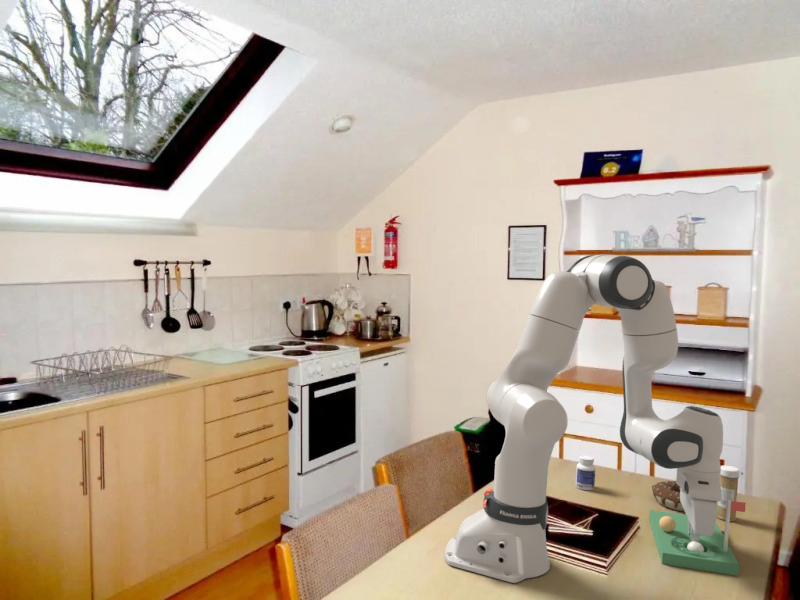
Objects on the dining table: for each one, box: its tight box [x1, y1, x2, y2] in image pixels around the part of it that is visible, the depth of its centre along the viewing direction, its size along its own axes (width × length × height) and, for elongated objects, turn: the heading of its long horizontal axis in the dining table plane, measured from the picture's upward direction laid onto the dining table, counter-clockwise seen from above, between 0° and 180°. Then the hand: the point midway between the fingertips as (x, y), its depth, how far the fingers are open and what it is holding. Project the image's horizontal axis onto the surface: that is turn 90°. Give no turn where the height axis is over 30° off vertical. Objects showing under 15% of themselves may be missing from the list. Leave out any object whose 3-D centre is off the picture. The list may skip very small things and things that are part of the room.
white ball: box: [687, 541, 704, 553], centre depth 136 cm, size 4×4×4 cm
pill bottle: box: [575, 454, 596, 491], centre depth 176 cm, size 5×5×9 cm
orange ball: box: [659, 516, 676, 532], centre depth 143 cm, size 4×4×4 cm
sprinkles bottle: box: [717, 464, 740, 522], centre depth 158 cm, size 5×5×14 cm
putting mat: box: [648, 500, 746, 577], centre depth 142 cm, size 17×24×14 cm
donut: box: [651, 480, 685, 513], centre depth 167 cm, size 14×14×5 cm
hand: (693, 538), depth 138 cm, fingers closed
